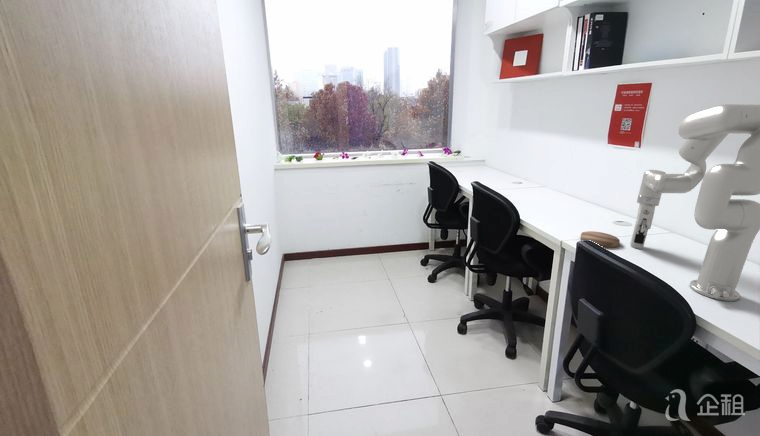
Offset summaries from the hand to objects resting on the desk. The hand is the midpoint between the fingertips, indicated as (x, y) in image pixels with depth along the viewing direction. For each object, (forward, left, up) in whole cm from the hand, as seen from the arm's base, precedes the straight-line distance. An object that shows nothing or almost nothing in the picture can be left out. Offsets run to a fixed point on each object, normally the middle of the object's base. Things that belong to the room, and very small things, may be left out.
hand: (638, 240), depth 159 cm
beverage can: (0, 0, -3) cm, 3 cm away
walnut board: (-2, +14, -3) cm, 14 cm away
